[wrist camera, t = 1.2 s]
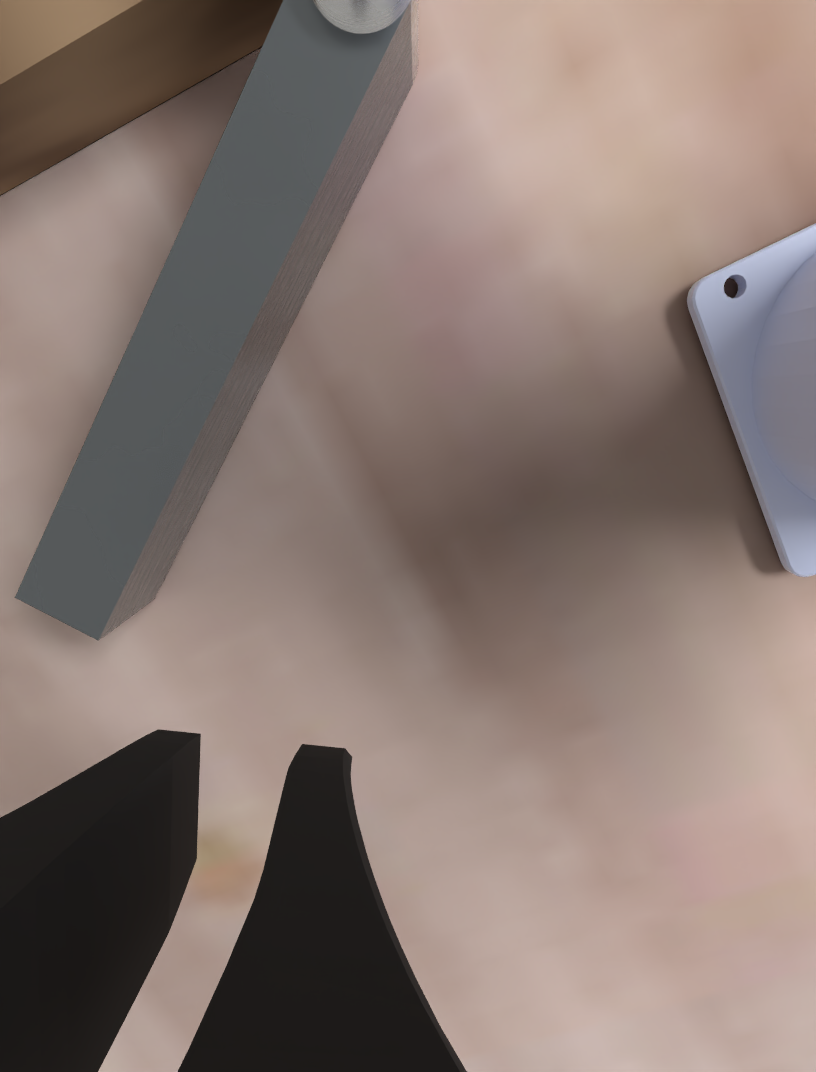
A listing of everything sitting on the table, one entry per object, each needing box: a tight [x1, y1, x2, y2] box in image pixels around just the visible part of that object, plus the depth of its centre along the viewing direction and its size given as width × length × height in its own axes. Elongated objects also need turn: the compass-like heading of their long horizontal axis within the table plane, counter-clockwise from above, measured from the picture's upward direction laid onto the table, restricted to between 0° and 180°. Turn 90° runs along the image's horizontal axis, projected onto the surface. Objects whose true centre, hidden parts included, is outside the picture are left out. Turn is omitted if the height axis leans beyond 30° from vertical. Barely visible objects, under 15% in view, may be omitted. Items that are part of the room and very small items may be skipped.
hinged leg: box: [15, 0, 418, 641], centre depth 14 cm, size 15×2×4 cm, turn 150°
